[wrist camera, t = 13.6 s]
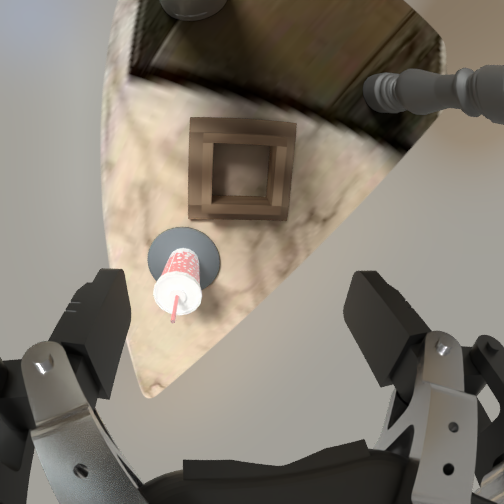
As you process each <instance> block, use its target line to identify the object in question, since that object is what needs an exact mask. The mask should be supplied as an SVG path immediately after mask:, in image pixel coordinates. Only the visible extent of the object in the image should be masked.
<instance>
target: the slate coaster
mask: <svg viewBox="0 0 504 504" xmlns="http://www.w3.org/2000/svg"><path fill="white" fill-rule="evenodd" d="M180 248H186V249H190V250H192V251H193V252H195V254H196V255H197V256H198V260H199V277H200V287H201V290H202V289H204V288H206V287H207V286H208V285H210V284H211V283H212V282H213V280H214V279H215V277H216V276H217V273H218V270H219V264H220V262H219V253H218V250H217V248H216V246H215V244H214V243H213V241H212V240H211V239H210V238H209V237H208V236H207V235H205V234H204V233H202V232H200V231H198V230H196V229H193V228H188V227H176V228H171V229H168V230H166V231H164V232H163V233H161V234H160V235H159V236H158V237H156V239H155V240H154V241H153V243H152V245H151V247H150V249H149V253H148V266H149V269H150V272H151V274H152V276H153V277H154V279H155V280H156V281H158V279H159V277H161V275H162V272H163V270H164V268H165V266H166V263H167V261H168V259H169V257H170V255H171V254H172V252H173V251H175V250H177V249H180Z"/></svg>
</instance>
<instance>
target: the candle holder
mask: <svg viewBox="0 0 504 504" xmlns="http://www.w3.org/2000/svg"><path fill="white" fill-rule="evenodd" d="M363 95H364V98H365V100H366V102H367V104H368V105H369V106H370V107H371V108H372V109H373V110H375V111H377V112H379V113H398V112H403V111H405V110H408V111H410V112H412V113H414V114H421V115H426V114H429V113H432V112H436V111H440V110H443V109H447V108H456V109H461V110H462V111H463V112H464V113H465V114H467V115H468V116H471V117H478V116H480V115H481V114H482V115H483V116H485V117H486V118H487V119H490V120H491V121H492V122H493V123H498V124H503V125H504V65H485V66H483V67H481V68H480V69H478V70H476V71H475V72H474V71H473V70H471V69H468V68H462V69H460V70H458V71H457V72H456V74H455V75H440V74H436V73H432V72H428V71H424V70H419V69H408V70H406V71H403V72H402V73H401V74H400V75H399V74H394V73H381V74H375V75H372V76H370V77H368V78H367V80H366V81H365V82H364V86H363Z"/></svg>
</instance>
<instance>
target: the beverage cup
mask: <svg viewBox="0 0 504 504" xmlns="http://www.w3.org/2000/svg"><path fill="white" fill-rule="evenodd" d="M153 296H154V298H155V301H156V303H157V304H158V306H159V307H160V308H161V309H162V310H164V311H166V312H168V313H170V314H172V317H171V323H175V318H176V315H185V314H189V313H191V312H193V311H195V310H196V309H197V307H198V306H199V305H200V304H201V298H202V291H201V287H200V277H199V260H198V256H197V255H196V254H195V252H193V251H192V250H190V249H186V248H180V249H177V250H175V251H173V252H172V254H171V255H170V257H169V259H168V261H167V263H166V266H165V268H164V270H163V272H162V275H161V277H159V279H158V281H157V282H156V284H155V286H154V293H153Z"/></svg>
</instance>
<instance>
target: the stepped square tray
mask: <svg viewBox="0 0 504 504" xmlns="http://www.w3.org/2000/svg"><path fill="white" fill-rule="evenodd" d="M296 125H297V123H290V122H281V121H270V120H257V119H240V118H210V117H190V132H189V169H188V219H242V220H281V221H287V217H288V207H289V198H290V189H291V179H292V169H293V159H294V148H295V137H296ZM214 143H229V144H252V145H268V146H270V154H269V167H268V179H267V191H266V197H257V196H219V195H212V171H213V146H214Z"/></svg>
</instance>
